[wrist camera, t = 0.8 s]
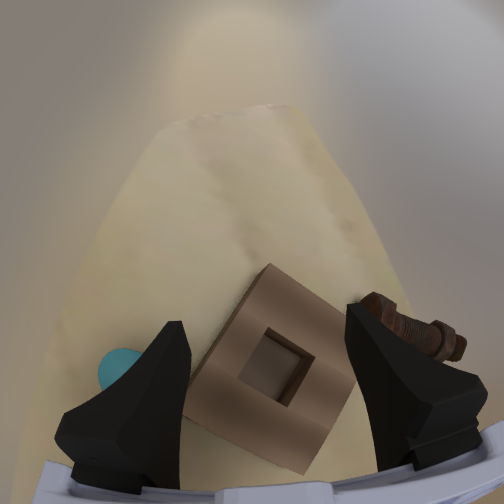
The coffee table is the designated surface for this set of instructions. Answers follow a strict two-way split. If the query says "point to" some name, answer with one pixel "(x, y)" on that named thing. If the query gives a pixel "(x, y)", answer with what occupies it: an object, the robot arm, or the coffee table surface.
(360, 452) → the coffee table surface
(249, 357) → the bore block
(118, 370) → the pin
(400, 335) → the bolt
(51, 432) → the coffee table surface
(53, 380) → the coffee table surface
